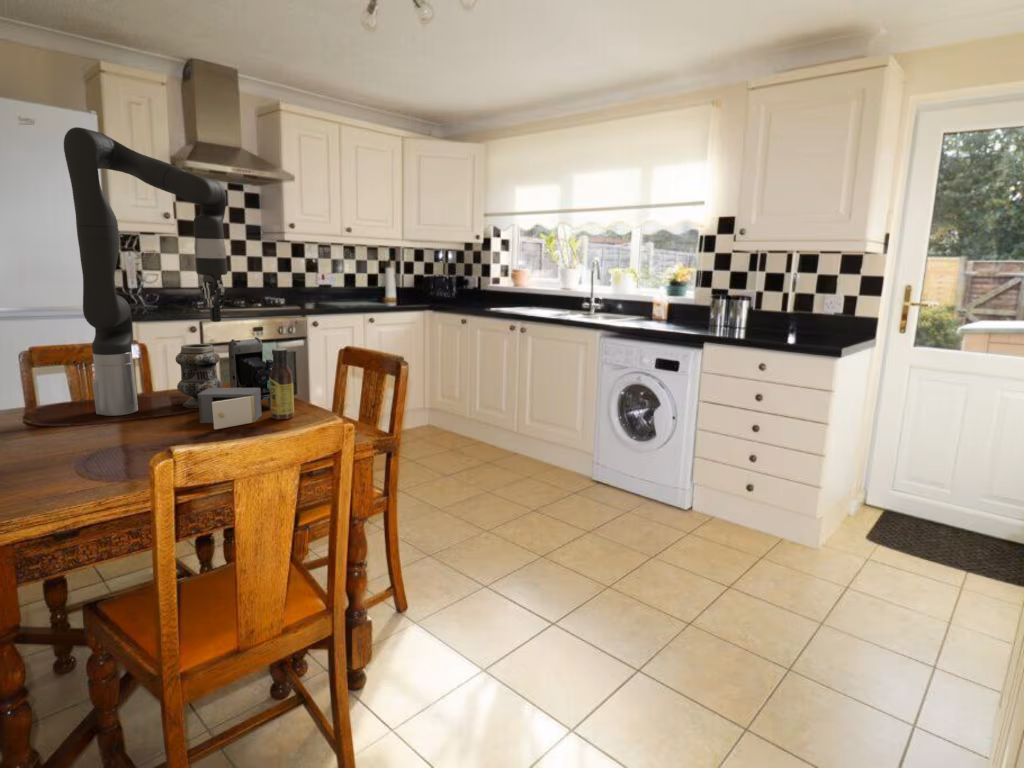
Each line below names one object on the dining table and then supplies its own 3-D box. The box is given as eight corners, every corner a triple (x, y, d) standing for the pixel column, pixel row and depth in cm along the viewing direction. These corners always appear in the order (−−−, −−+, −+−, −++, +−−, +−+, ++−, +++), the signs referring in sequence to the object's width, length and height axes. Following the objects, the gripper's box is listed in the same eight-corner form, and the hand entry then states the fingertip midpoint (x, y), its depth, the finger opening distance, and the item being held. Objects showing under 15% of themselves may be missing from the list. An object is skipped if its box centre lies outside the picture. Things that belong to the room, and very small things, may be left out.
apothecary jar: (230, 399, 191) (225, 342, 187) (212, 409, 179) (208, 348, 175) (190, 398, 190) (185, 341, 186) (170, 408, 178) (165, 348, 174)
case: (200, 423, 165) (197, 394, 163) (210, 415, 173) (208, 387, 171) (254, 422, 167) (252, 394, 165) (261, 414, 175) (260, 387, 173)
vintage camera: (257, 413, 177) (255, 346, 173) (229, 402, 186) (227, 338, 182) (286, 408, 185) (286, 343, 180) (258, 398, 194) (257, 336, 189)
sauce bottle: (270, 415, 174) (266, 347, 170) (293, 413, 177) (290, 346, 172) (271, 421, 168) (267, 350, 164) (295, 419, 171) (292, 349, 166)
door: (216, 430, 158) (214, 403, 156) (213, 428, 159) (211, 402, 157) (257, 422, 165) (255, 397, 164) (254, 421, 167) (252, 395, 165)
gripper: (235, 257, 160) (240, 323, 164) (215, 256, 169) (219, 318, 173) (206, 257, 155) (211, 324, 158) (186, 255, 163) (191, 320, 167)
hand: (215, 321), depth 166 cm, fingers closed
